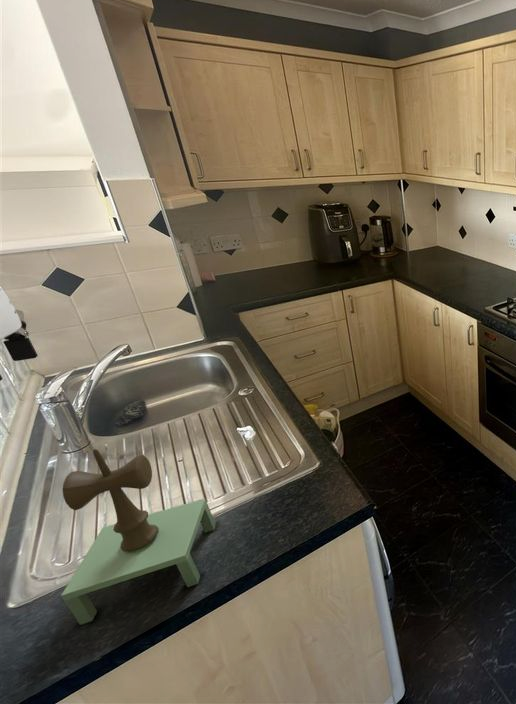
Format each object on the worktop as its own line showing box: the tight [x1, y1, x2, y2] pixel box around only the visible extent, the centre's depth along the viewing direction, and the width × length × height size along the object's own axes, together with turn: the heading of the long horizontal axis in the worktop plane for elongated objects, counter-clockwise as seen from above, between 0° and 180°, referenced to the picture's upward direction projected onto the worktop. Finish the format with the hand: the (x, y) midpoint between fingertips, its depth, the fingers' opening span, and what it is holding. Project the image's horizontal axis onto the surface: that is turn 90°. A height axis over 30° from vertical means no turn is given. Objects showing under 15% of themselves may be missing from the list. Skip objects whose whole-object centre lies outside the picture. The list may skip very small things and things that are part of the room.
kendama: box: [61, 448, 159, 551], centre depth 68 cm, size 6×10×20 cm, turn 118°
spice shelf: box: [60, 498, 217, 626], centre depth 73 cm, size 16×14×7 cm
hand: (8, 370), depth 71 cm, fingers open, 9 cm apart
